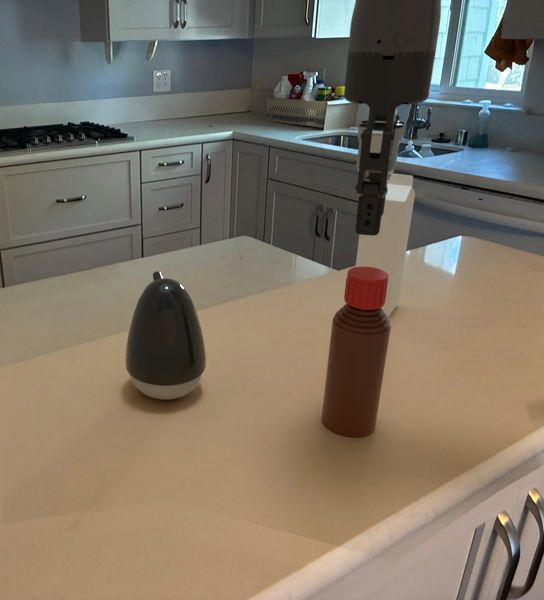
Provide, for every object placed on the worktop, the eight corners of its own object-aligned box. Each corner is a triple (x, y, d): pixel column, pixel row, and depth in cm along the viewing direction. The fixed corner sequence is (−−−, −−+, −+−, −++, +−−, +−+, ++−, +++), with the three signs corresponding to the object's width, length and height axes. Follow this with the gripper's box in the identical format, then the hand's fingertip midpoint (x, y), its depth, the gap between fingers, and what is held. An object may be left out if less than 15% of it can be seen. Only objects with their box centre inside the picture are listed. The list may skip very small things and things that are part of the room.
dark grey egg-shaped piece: (194, 364, 85) (195, 261, 79) (214, 405, 76) (217, 292, 69) (121, 372, 84) (116, 267, 77) (133, 415, 74) (128, 300, 68)
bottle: (377, 413, 73) (398, 273, 66) (373, 442, 68) (396, 293, 61) (325, 403, 76) (341, 266, 68) (317, 430, 71) (333, 286, 63)
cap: (341, 306, 65) (345, 277, 63) (346, 292, 68) (349, 264, 67) (383, 312, 63) (387, 282, 62) (385, 297, 67) (390, 269, 65)
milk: (361, 298, 104) (377, 168, 96) (398, 305, 101) (419, 171, 92) (349, 310, 100) (365, 175, 91) (388, 319, 97) (408, 179, 88)
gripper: (356, 45, 63) (339, 204, 70) (339, 50, 51) (321, 242, 58) (435, 43, 61) (410, 209, 67) (437, 49, 49) (407, 250, 55)
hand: (369, 224), depth 63 cm, fingers open, 6 cm apart
